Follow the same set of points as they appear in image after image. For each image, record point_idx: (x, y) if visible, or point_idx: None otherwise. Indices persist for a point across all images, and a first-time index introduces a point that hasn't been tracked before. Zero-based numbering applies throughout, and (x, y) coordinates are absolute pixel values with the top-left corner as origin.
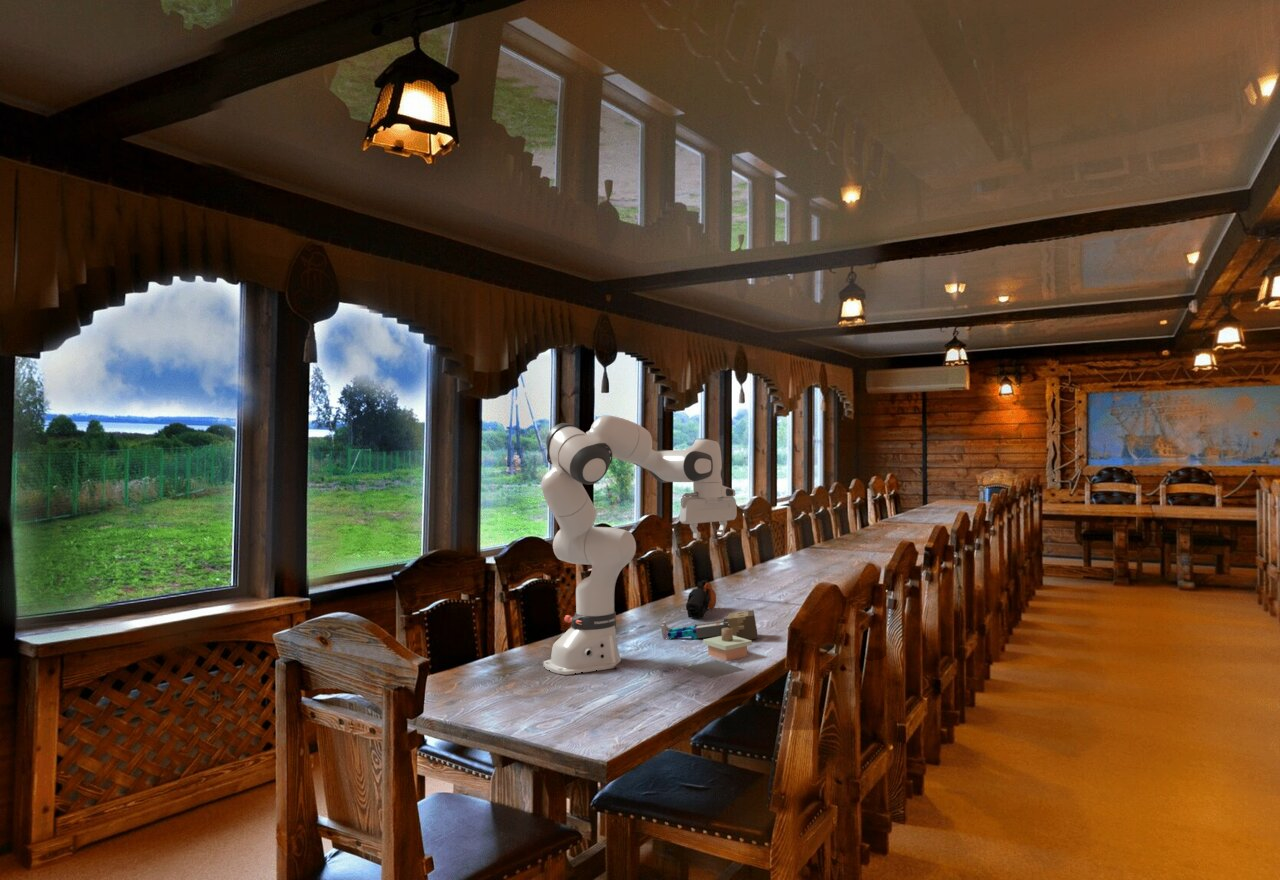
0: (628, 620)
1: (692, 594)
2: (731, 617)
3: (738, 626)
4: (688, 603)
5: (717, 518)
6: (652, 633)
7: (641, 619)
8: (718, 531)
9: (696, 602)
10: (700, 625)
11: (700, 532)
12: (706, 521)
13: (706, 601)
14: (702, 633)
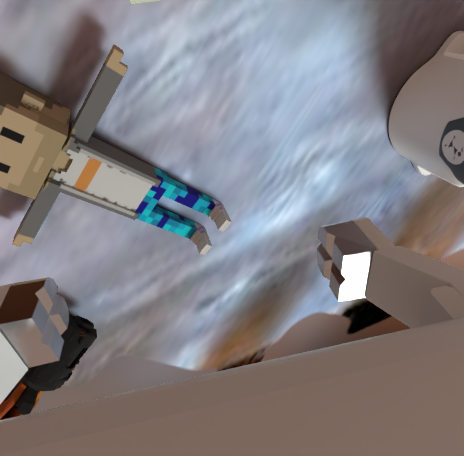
0: (205, 344)
1: (66, 368)
2: (50, 143)
3: (40, 109)
4: (91, 336)
5: (72, 447)
6: (216, 252)
7: (180, 343)
8: (51, 331)
9: (70, 334)
10: (125, 207)
11: (343, 254)
12: (332, 354)
13: None
14: (141, 165)
